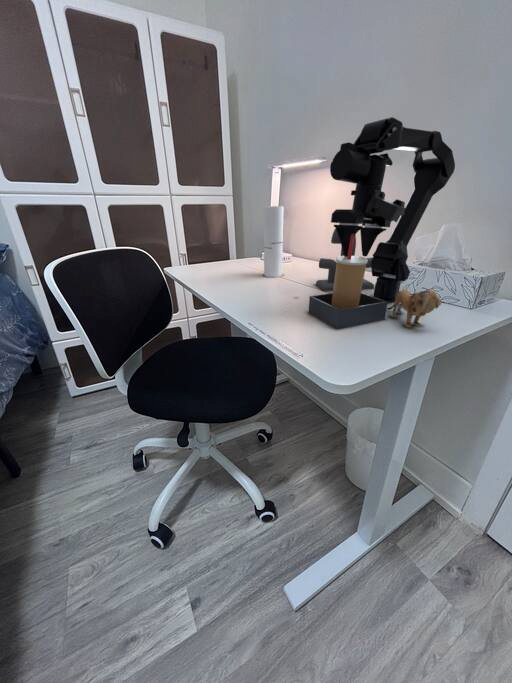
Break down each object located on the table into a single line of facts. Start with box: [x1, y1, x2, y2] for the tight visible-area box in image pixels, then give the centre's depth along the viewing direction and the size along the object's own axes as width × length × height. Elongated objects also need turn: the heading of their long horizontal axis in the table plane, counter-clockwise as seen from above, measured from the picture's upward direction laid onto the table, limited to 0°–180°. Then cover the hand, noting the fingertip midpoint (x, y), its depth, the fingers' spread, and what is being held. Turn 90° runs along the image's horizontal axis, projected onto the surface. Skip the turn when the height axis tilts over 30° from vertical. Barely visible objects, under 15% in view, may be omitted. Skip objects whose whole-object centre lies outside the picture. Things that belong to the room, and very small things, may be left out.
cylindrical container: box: [263, 205, 285, 278], centre depth 111 cm, size 7×7×25 cm
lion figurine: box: [386, 289, 443, 328], centre depth 68 cm, size 15×5×9 cm, turn 13°
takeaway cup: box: [331, 234, 368, 309], centre depth 69 cm, size 7×7×19 cm
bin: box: [308, 291, 389, 330], centre depth 73 cm, size 14×12×4 cm
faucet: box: [315, 227, 375, 292], centre depth 98 cm, size 18×16×20 cm
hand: (356, 256), depth 72 cm, fingers open, 9 cm apart
